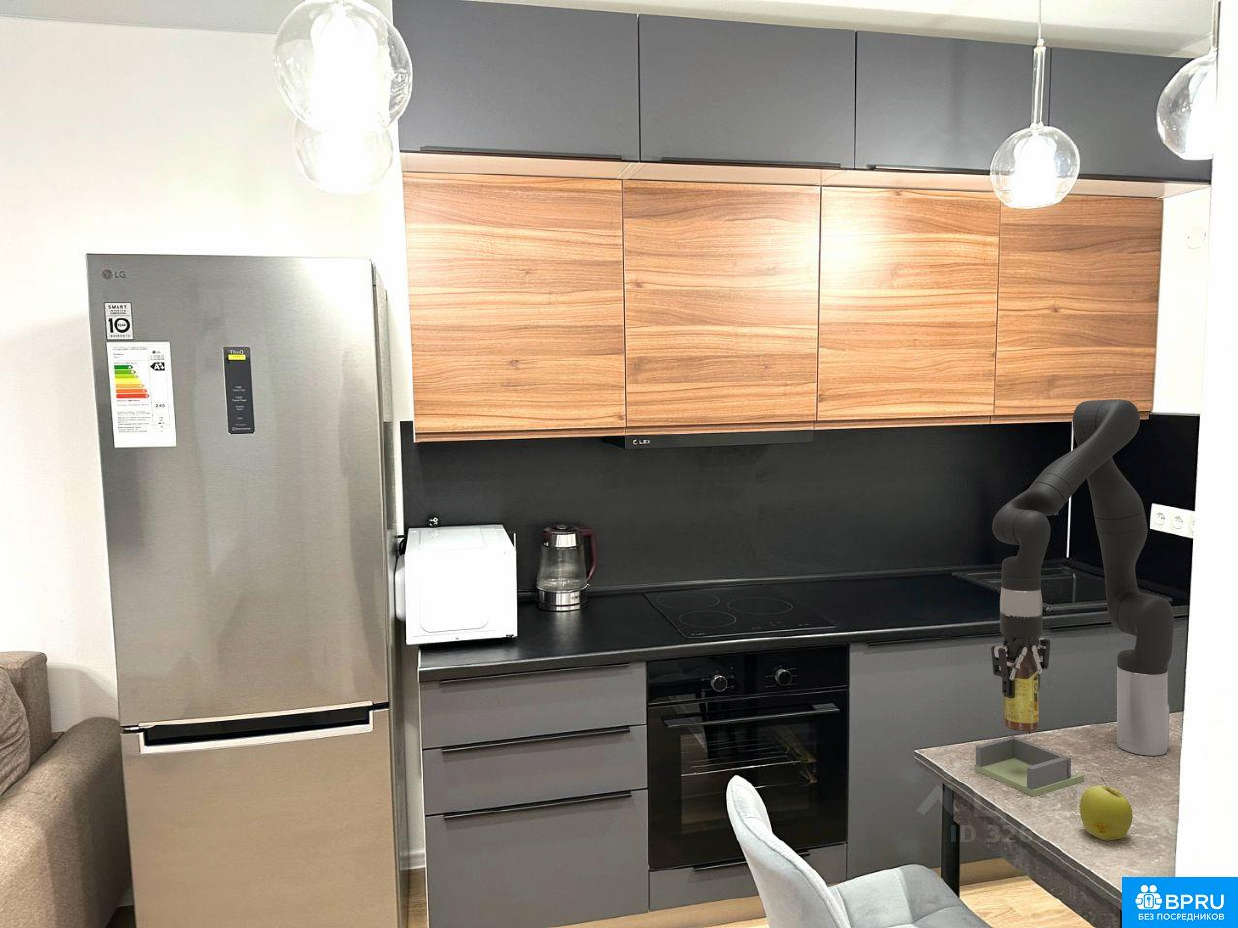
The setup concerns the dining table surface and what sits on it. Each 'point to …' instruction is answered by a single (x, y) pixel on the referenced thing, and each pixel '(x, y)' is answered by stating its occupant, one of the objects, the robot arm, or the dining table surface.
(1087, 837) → the dining table surface
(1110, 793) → the apple
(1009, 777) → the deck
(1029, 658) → the sauce bottle
